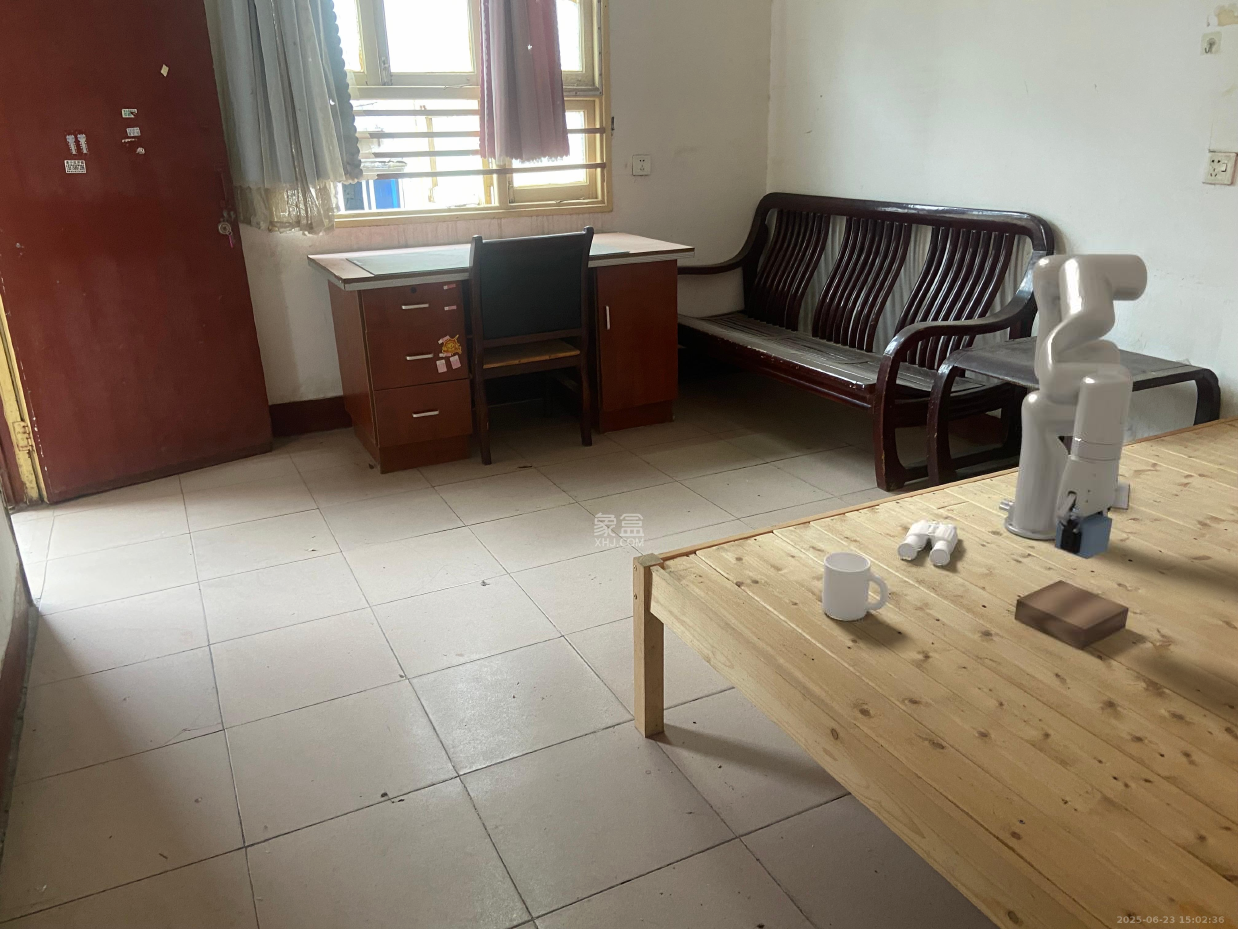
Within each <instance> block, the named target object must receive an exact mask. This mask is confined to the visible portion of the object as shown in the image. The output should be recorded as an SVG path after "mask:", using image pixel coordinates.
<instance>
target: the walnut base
mask: <svg viewBox="0 0 1238 929" xmlns="http://www.w3.org/2000/svg"><path fill="white" fill-rule="evenodd" d="M1129 609H1130V607H1128V606H1127V605H1123V604H1120V603H1118V602H1116V601H1113V600H1111V599H1108V598H1106V597H1104V596H1102V595H1099V594H1096V593H1093V592H1091V591H1089V590H1086V589H1085V588H1081V587H1079V586H1076V585H1075V584H1074V585H1073V583H1069V582H1066V581H1064V580H1062V579H1059V580H1057V581H1055V582H1052V583H1050V584H1048V585H1045V586H1044V587H1041V588H1039V589H1037V590H1035V591H1031V592H1030V593H1028V594H1026V595H1023V596H1022V597H1019V598H1017V599H1016V604H1015V612H1014V617H1013V618H1014V620H1015V621H1018V622H1020V623H1022V624H1024V625H1026V626H1029V627H1031V628H1032V629H1035V630H1038V632H1039V631H1040V632H1042V633H1044V634H1046V635H1048V636H1051V637H1053V638H1055V639H1057V640H1059V641H1061V642H1063V643H1065V644H1067V645H1070V646H1072V647H1073V648H1076V649H1079V650H1080V651H1084V650H1085V649H1086V648H1089V647H1090V646H1092V645H1095V644H1096V643H1098V642H1100V641H1102V640H1104V639H1106V638H1108V637H1110V636H1112V635H1114V634H1115V633H1118V632H1120V631H1122V630H1123V629H1125V628H1126V625H1127V621H1128V614H1129Z"/></svg>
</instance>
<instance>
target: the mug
mask: <svg viewBox="0 0 1238 929" xmlns="http://www.w3.org/2000/svg"><path fill="white" fill-rule="evenodd" d="M871 566H872V564H871V560H870V559H869V558H867V557H866V556H864V555H862V554H859V553H856V552H849V551H837V552H831V553H829V554H828V555H826V556H825V557H824V560H823V573H822V578H823V579H822V593H821V594H822V597H821V608H823V609H822V610H824V611H825V612H826V613H828V614H829V615H830V616H834V617H836V618H839V619H842V620H855V621H858V620H861V619H863V618H864V617H865V615H867V613H868V612H867V611H877V610H881V609H883V607H884V606H885V605H886V604H887V602H888V599H889V588H888V584H886V582H885V580H884V579H883V577H881V576H880V575H878V574H876V573H873V572H871ZM870 582H872V583H874V584H876V585H877V586H878V587H879V589H880V590H879V591H880V597H879V599H878V600H877V601H876V602H870V601H869V594H870V593H869V592H870ZM824 611H823V612H824ZM860 618H861V619H860ZM857 619H858V620H857Z"/></svg>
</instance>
